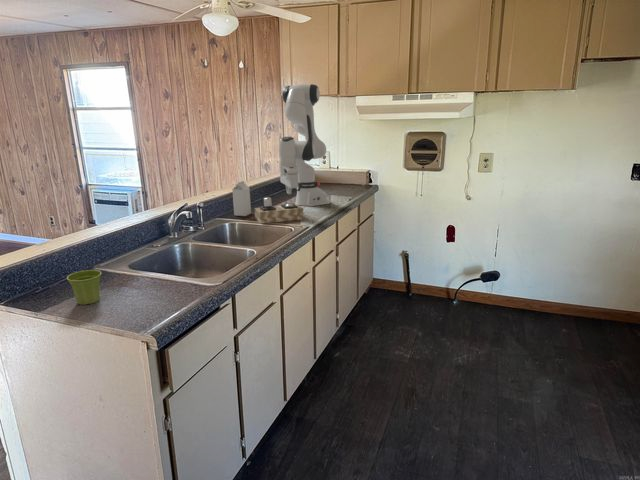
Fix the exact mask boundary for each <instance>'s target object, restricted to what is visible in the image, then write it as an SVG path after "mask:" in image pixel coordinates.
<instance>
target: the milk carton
mask: <svg viewBox="0 0 640 480" xmlns="http://www.w3.org/2000/svg"><path fill="white" fill-rule="evenodd" d="M250 190H251V189H250V186H248V185H247V184H246V183H245V181H244V180H242V181H238V182H237V183H236V184H235V186H234V187H233V188H232V191H231V192H232V204H233V214H234V215H233V216H236V217H237V216H238V217H239V216H240V217H246V216H249V215H250V214H252V207H251V206H252V205H251V191H250Z"/></svg>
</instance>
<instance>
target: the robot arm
mask: <svg viewBox="0 0 640 480" xmlns="http://www.w3.org/2000/svg"><path fill="white" fill-rule="evenodd" d="M281 94H282V95H281V96H282V101H283V102H284V103H285V108H284V109H285V117H286V118H287V119H288V121H289V122H291V123H293V124H295V130H296V132H297V133H298V134H299V135H302V136H303V137H305V138H304V139H305V140H295V138H294V137H292V136H284V137H281V138H280V139H279V146H278V153H279V159H280V160H279V175H280V176H279V177H280V180H279V181H280V183H281V184H283V185H285V189H286V193H287V194H288V195H292V190H293V189H296V198H295V202H294V204H297V205H298V206H303V207H304V206H305V207H306V206H307V207H315V206H321V205H329V204H331V203H332V202H331V200H330V199H328V197H327V196H328V195H327V193H326V192H325V191H324V190H322V188H319V186H321V182H319V181H316V179H315V177H316V174H315V173H316V172H315V171H316V170H315V167H313V166H312V165H311V164H308V163H306V162H310V161H311V160H316V159H322V158H324V157H325V156H326V154H327V146H326V144H325V142H323V141H322V140H321V139H320V138H319V137H318V135H317V133H316V130H315V113H314V106H315V104H317V102H319V100H320V96H321V92H320V89H319V86H318V85H317V84H312V83H311V84H307V83H305V84H304V83H302V84H295V85H293V84H292V85H287V86H284V88H283V89H282V92H281Z"/></svg>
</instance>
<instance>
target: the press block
mask: <svg viewBox="0 0 640 480" xmlns="http://www.w3.org/2000/svg"><path fill="white" fill-rule="evenodd" d="M286 204H287V203H286ZM286 204H280V205H272V208H266V209H265V208H264V206H259V207H253V208H254V210H253V211H254V219H255V221H257V222H258V223H259V224H269V223H278V222H289V221H298V220H304V219H305V218H304V216H305V215H304V208H303V207H302V206H301V205H297V204H295V203H292V204H293V206H287V207H286Z"/></svg>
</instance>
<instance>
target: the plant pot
mask: <svg viewBox="0 0 640 480" xmlns="http://www.w3.org/2000/svg"><path fill="white" fill-rule="evenodd" d="M101 276H102V271H101V270H97V269H87V270H80V271H76V272H73V273H71V274H69V275H67V276H66V280H67V281H68V282H69V284H70V286H71V288H72V291H73V295H74V296H75V301H76V303H77V304H78V305H80V306H81V305H82V306H83V305H84V306H85V305H87V304H95V303H97V302H99V300H100V280H101Z"/></svg>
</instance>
